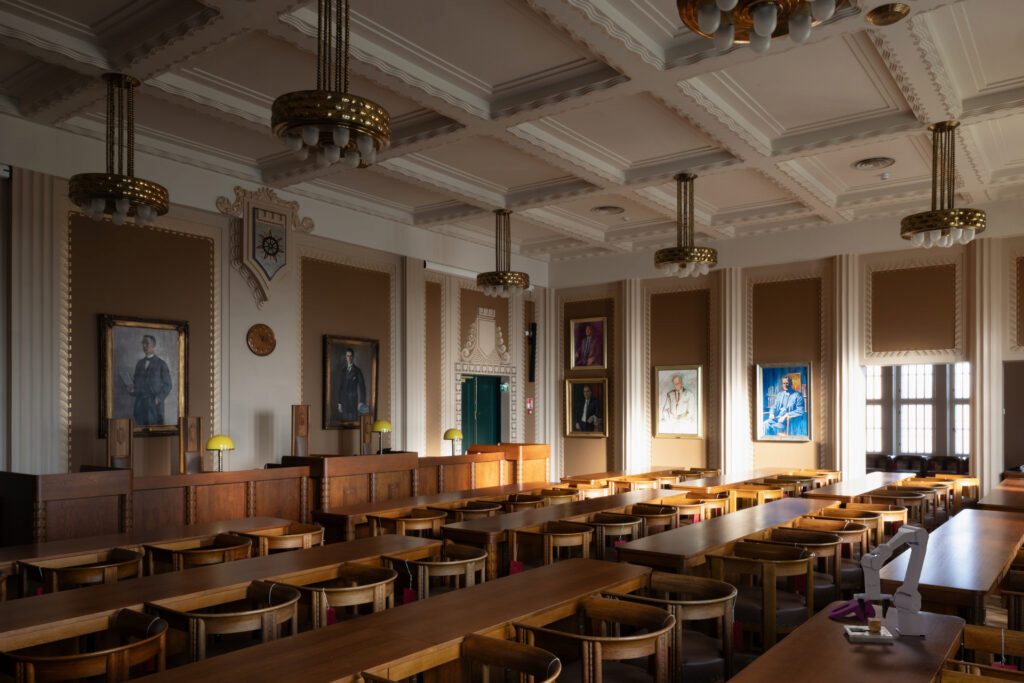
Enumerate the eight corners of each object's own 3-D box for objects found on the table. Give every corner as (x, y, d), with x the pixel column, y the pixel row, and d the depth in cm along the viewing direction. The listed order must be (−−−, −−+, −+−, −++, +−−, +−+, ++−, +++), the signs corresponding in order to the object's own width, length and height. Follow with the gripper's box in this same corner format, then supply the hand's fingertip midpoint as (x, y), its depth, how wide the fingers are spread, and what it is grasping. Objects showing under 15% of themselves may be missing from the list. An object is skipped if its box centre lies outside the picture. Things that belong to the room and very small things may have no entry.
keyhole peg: (878, 636, 323) (877, 618, 323) (881, 639, 319) (880, 621, 319) (868, 636, 323) (867, 617, 324) (871, 639, 319) (870, 620, 320)
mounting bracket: (840, 634, 345) (879, 617, 342) (830, 616, 346) (869, 599, 343) (836, 627, 354) (873, 611, 351) (826, 610, 355) (864, 594, 352)
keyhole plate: (884, 634, 326) (884, 626, 326) (893, 643, 314) (892, 636, 314) (844, 632, 329) (843, 625, 329) (850, 642, 317) (850, 634, 317)
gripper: (888, 581, 325) (890, 615, 324) (851, 581, 327) (853, 614, 326) (893, 586, 318) (895, 620, 317) (855, 585, 320) (857, 619, 319)
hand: (874, 617), depth 321 cm, fingers open, 7 cm apart
